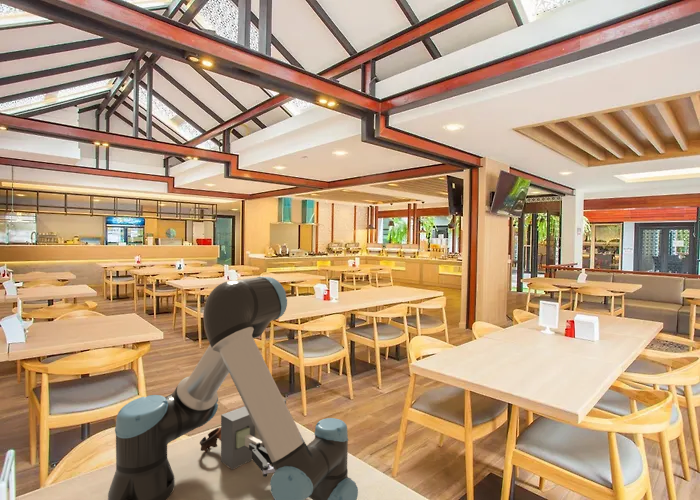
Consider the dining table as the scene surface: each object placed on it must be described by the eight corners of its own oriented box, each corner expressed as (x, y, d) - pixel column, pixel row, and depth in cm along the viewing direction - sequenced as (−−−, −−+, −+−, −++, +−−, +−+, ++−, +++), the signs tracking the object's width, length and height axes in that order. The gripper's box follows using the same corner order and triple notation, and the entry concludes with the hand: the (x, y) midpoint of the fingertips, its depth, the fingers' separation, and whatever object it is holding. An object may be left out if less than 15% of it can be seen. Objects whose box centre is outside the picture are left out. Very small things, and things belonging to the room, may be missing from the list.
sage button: (237, 448, 112) (237, 433, 112) (228, 442, 115) (228, 427, 115) (249, 443, 115) (249, 428, 115) (239, 437, 118) (239, 423, 118)
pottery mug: (222, 466, 114) (207, 442, 114) (204, 470, 119) (190, 447, 118) (249, 438, 124) (236, 416, 124) (231, 443, 129) (219, 421, 129)
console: (232, 469, 111) (232, 421, 111) (221, 461, 115) (221, 414, 115) (285, 443, 126) (286, 400, 126) (274, 436, 130) (274, 395, 130)
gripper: (281, 500, 92) (226, 462, 107) (321, 475, 102) (265, 443, 117) (282, 469, 92) (227, 435, 107) (321, 447, 102) (265, 419, 117)
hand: (247, 439), depth 112 cm, fingers closed
